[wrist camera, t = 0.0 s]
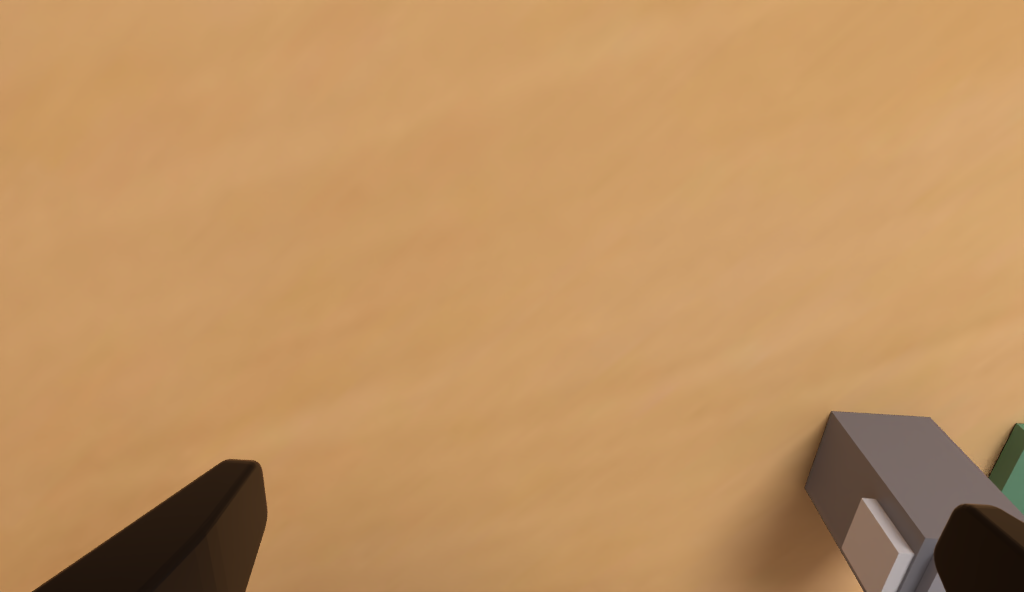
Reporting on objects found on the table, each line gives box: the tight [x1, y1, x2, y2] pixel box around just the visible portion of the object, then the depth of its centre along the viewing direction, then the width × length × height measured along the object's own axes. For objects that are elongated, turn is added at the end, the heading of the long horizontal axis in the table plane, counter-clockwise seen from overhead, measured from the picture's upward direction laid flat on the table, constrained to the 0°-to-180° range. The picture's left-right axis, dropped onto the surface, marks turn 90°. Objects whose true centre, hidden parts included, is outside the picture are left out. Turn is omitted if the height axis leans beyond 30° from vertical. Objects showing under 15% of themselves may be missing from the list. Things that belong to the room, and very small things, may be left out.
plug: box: [805, 411, 1024, 592], centre depth 23 cm, size 4×4×7 cm
